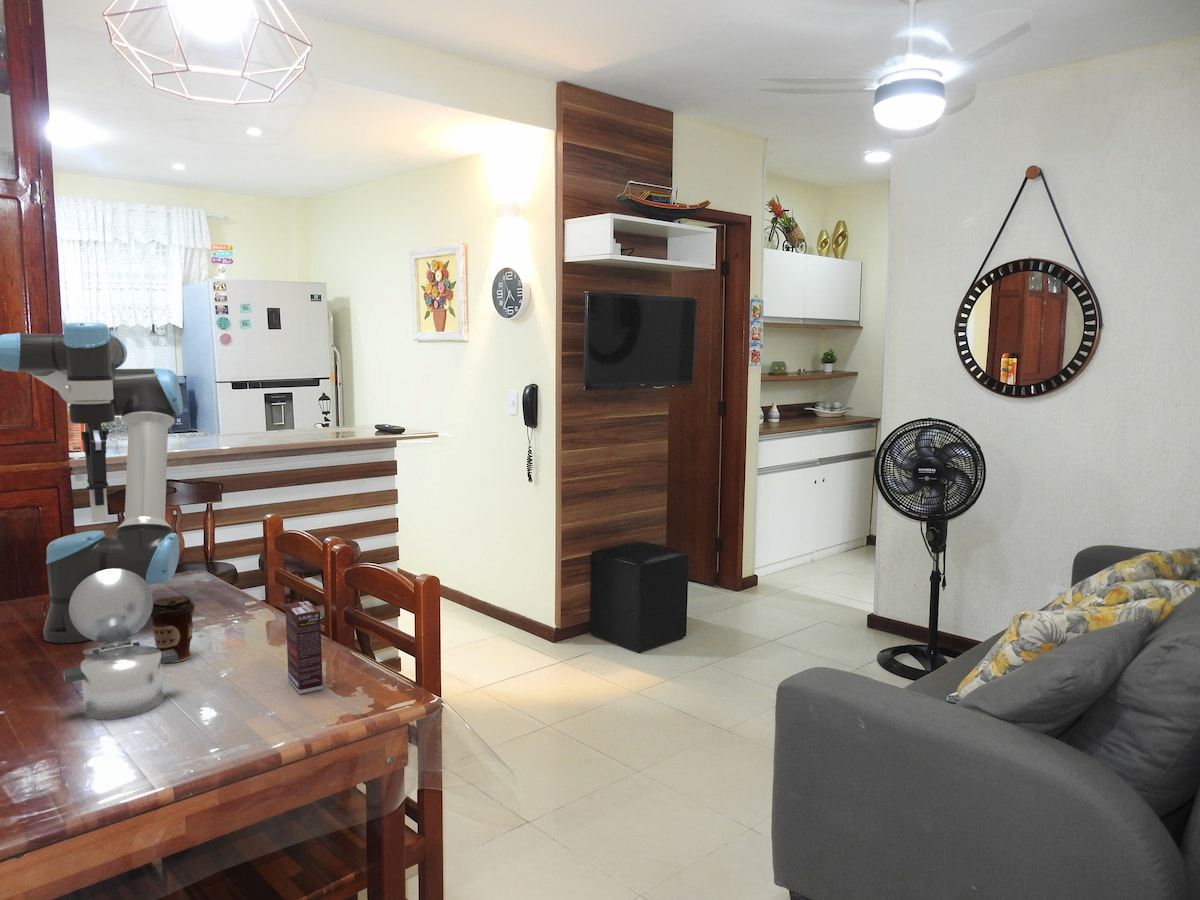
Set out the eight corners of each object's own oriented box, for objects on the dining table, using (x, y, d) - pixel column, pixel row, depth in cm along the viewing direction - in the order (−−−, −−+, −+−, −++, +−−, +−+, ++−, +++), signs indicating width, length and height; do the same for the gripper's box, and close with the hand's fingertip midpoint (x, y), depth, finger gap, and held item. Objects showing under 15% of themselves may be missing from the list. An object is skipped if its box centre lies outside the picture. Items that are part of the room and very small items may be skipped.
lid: (73, 655, 157) (72, 653, 160) (157, 640, 165) (154, 638, 168) (66, 575, 157) (64, 574, 160) (149, 563, 165) (147, 563, 168)
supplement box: (324, 689, 163) (321, 610, 162) (299, 695, 161) (295, 615, 159) (312, 675, 171) (308, 599, 169) (287, 680, 168) (283, 603, 166)
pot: (63, 702, 157) (59, 656, 156) (170, 679, 168) (167, 636, 167) (71, 730, 146) (67, 680, 145) (185, 703, 157) (182, 657, 156)
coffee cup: (177, 667, 175) (173, 607, 173) (142, 664, 176) (138, 604, 175) (205, 652, 183) (201, 595, 181) (171, 650, 185) (168, 592, 183)
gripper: (65, 401, 167) (74, 517, 170) (72, 404, 157) (81, 528, 159) (109, 400, 171) (117, 513, 174) (118, 403, 161) (126, 523, 164)
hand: (100, 520), depth 167 cm, fingers closed
